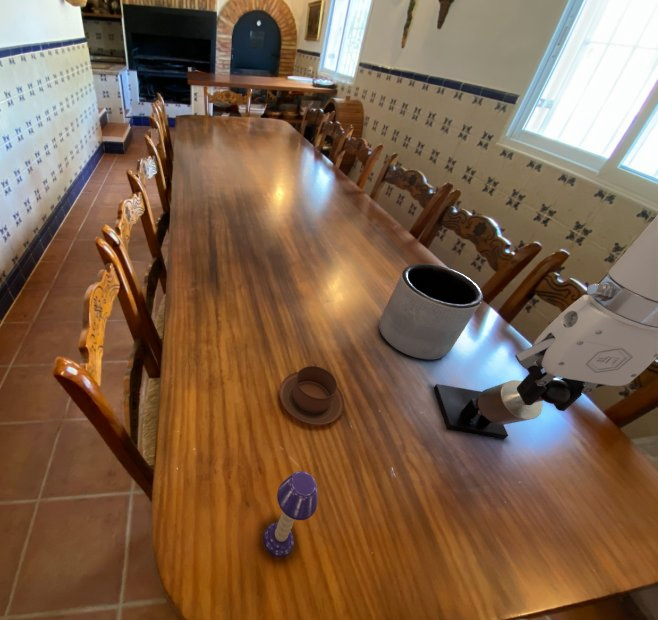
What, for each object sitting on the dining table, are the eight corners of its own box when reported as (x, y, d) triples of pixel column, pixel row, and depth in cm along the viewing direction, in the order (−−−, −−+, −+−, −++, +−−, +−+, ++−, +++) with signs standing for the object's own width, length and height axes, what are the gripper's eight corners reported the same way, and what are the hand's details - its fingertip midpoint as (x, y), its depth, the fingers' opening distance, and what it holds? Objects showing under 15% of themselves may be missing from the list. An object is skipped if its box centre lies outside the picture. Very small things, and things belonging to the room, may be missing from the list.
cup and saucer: (272, 378, 71) (277, 357, 67) (329, 376, 73) (337, 355, 69) (285, 432, 62) (291, 412, 58) (350, 428, 64) (361, 408, 60)
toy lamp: (264, 517, 52) (282, 460, 41) (296, 522, 51) (323, 467, 41) (261, 555, 48) (281, 503, 37) (296, 561, 48) (325, 511, 37)
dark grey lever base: (504, 440, 64) (528, 416, 59) (446, 429, 65) (466, 405, 60) (484, 397, 71) (505, 373, 67) (433, 388, 72) (449, 364, 68)
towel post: (497, 431, 63) (593, 414, 46) (462, 425, 64) (544, 406, 47) (493, 397, 66) (582, 370, 49) (459, 391, 66) (536, 362, 49)
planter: (363, 323, 86) (385, 269, 76) (411, 308, 92) (437, 257, 82) (413, 371, 76) (446, 316, 66) (464, 351, 81) (502, 297, 71)
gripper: (578, 308, 38) (488, 411, 50) (751, 334, 37) (617, 433, 48) (543, 271, 44) (470, 370, 55) (690, 292, 42) (584, 389, 54)
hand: (539, 399), depth 52 cm, fingers closed on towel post, 3 cm apart
